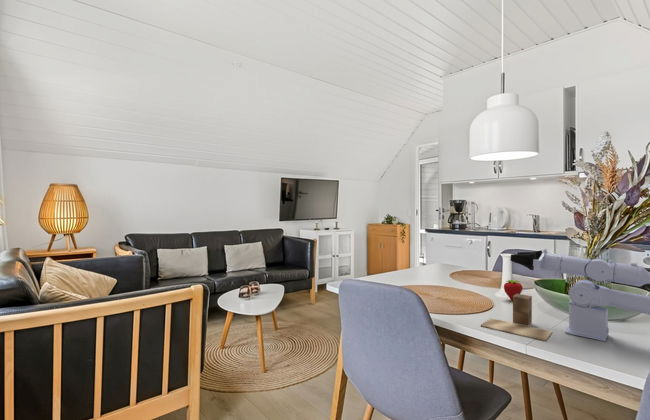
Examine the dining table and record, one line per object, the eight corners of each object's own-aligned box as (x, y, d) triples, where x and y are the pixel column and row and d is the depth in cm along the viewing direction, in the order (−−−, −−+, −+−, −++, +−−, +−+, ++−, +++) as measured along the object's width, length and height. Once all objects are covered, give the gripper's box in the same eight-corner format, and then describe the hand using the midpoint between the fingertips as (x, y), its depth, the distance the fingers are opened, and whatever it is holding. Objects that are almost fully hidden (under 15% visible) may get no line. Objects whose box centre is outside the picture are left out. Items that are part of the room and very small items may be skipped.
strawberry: (526, 301, 137) (526, 277, 137) (510, 303, 136) (510, 278, 136) (515, 298, 143) (515, 274, 143) (499, 299, 142) (499, 275, 141)
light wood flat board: (552, 332, 104) (552, 331, 104) (545, 341, 97) (545, 340, 97) (490, 319, 117) (490, 318, 117) (480, 326, 110) (480, 325, 110)
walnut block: (531, 323, 113) (531, 296, 113) (528, 326, 110) (528, 298, 109) (516, 320, 116) (516, 293, 116) (512, 323, 113) (512, 296, 113)
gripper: (567, 249, 112) (521, 243, 122) (558, 253, 102) (508, 246, 111) (565, 270, 112) (519, 262, 122) (556, 276, 102) (507, 267, 111)
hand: (514, 256), depth 117 cm, fingers open, 7 cm apart
